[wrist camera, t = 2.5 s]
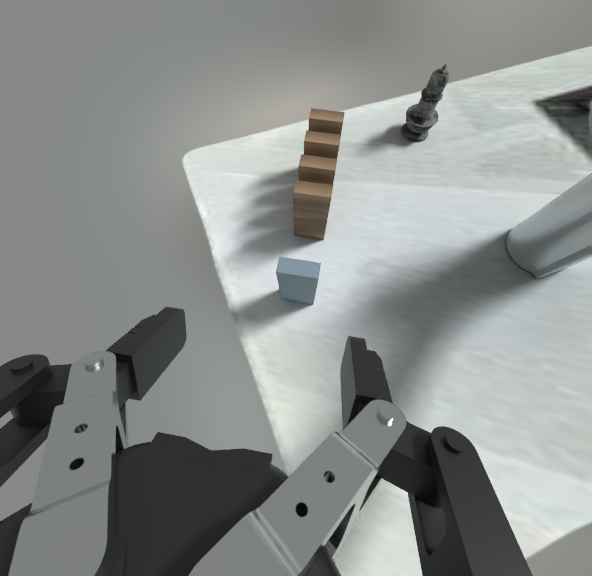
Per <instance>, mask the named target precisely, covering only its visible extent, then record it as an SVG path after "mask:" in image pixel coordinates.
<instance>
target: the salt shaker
mask: <svg viewBox="0 0 592 576" xmlns="http://www.w3.org/2000/svg"><path fill="white" fill-rule="evenodd" d="M446 68H447V65H444V66H443V68H441V69H437V70H435V71H434V72H433V74H432V75H431V77H430V80H429V82H428V84H427V87H426V88H425V89H423V90H422V93H421V94H422V97H421V99H420V102H419V103H418V104H415V105H412V106H411V107H409V108H408V110H407V112H406V124H404V125H403V126H402V129H401V133H402V135H403V137H404V138H405V139H407V140H409V141H412V142H421V141H423V140H425V139H426V138H427V136H428V130H429V129H430V128H431V127H432V126H433V125H434V124H436V122H437V121H438V114H437V112H436V110H435V107H436V105H437V103H438V101H440V100H441V99H442V96H443V95H442V92H443V90H444V88H445V86H446V84H447V82H448V80H449V73H448V71H447V70H446Z"/></svg>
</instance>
